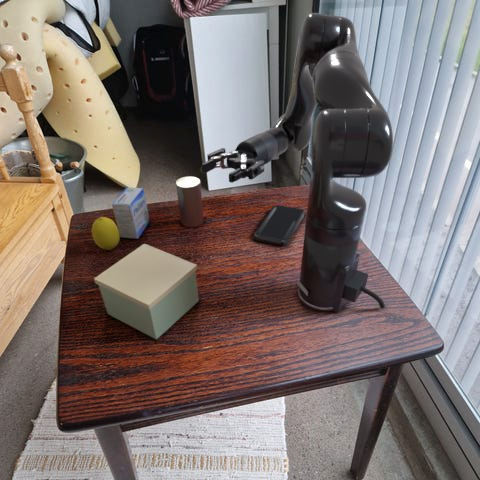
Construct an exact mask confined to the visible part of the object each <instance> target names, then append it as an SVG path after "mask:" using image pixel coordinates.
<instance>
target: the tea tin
mask: <svg viewBox="0 0 480 480" xmlns="http://www.w3.org/2000/svg"><path fill="white" fill-rule="evenodd" d="M175 186H176V195H177V202H178V209H179V218H180V224H181V225H182V226H184V227H186V228H196V227H200V226H201V225H203V223H204V209H203V199H202V186H201V179H200V178H198V177H197V176H183V177H180V178H178V179H176V181H175Z"/></svg>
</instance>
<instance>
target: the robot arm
mask: <svg viewBox="0 0 480 480" xmlns="http://www.w3.org/2000/svg"><path fill="white" fill-rule="evenodd" d="M309 67H312V68H313V67H314V69H313V72H312V75H311V72H310V69H309ZM316 108H317V109H318V110H319V111H320V112H319V113H318V114H317V116H316V118H315V122H314V125H313V115H314V114H315V111H316ZM393 133H394V132H393V126H392V123H391V120H390V117H389V114H388V112H387V110H386V109H385V107H384V105H383V104H382V103H381V101H380V100H379V98H378V97H377V96H376V95H375V93H374V90H373V89H372V87H371V84H370V81H369V77H368V74H367V71H366V68H365V65H364V63H363V61H362V59H361V56H360V53H359V50H358V44H357V36H356V30H355V26H354V23H353V22H352V20H350V18H347V17H344V16H339V15H334V14H333V15H332V14H325V13H322V12H321V13H320V12H309V14H307V15H306V16H305V18H304V20H303V22H302V25H301V28H300V31H299V34H298V41H297V46H296V52H295V60H294V65H293V73H292V84H291V91H290V94H289V99H288V102H287V106H286V109H285V113H283V114H282V115H281V116H280V117H279V118H278V119H277V121H276V122H275V123H274V125H273V126H272V127H270V128H269V129H267V130H265V131H263V132H260V133H257V134H254V135H253V136H251V137H249V138H246V139H245V140H243V141H241V142H239V143H238V145H237V146H236V148H235V150H232V151H229V152H228V151H226V148H225V147H221V148H219V149H217V150H215V151H212V152H210V153H208V154H207V157H206V158H207V161H205V162H203V163H202V164H201V172H202V173H204V174H207V173H209V172H211V171H212V170H214V169H216V168H221V169H222V170H226V169H233V171H231V172H229V173H228V182H229V183H232V184H233V183H235V182H238V181H239V180H241V179H246V178H248V180H254V179H255V178H257V177H258V176H260V175H261V174H262V173H264V172H265V165H267V164H268V163H270V162H271V161H272V160H274V159H275V158H277V157H279V156H280V155H282V154H283V153H285V152H286V151H287V149H290V150H292V151H293V152H301V151H303V150H304V149H305V148H306V147H307V146H308V145H309V143H310V141H311V159H310V160H311V163H310V177H309V179H310V180H309V189H308V201H307V207H306V216H305V217H306V219H305V227H304V237H303V246H302V256H301V263H300V273H299V279H296V285H297V286H298V289H297V296H298V297H297V298H298V299H299V301H300V302H301V303H302V304H303V305H304V306H305V307H307V308H309V309H311V310H314V311H318V312H334V313H336V314H337V313H340V311H341V310H342V309H343V307H344V306H345V305H346V304H347V302H348V301H349V302H351V303H355V302H357V300H358V298H359V297H360V295H362V293H364V294H365V295H368V296H370V298H372V299H374V300H375V301H376V302H377V303H378V306H379V308H380V309H385V308H386V305H385V302H384V300H383V299H382V298H381V297H380V296H379V295H378V294H377V293H376V292H373V291H372V290H370V289H368V288H367V287H366V286H367V282H368V278H369V273H367V272H364V271H360V270H358V266H359V263H360V257H361V255H360V253H358V251H359V250H358V249H359V245H360V239H361V234H362V232H363V231H362V230H363V226H364V222H365V217H366V212H367V201H366V199H365V198H364V197H363V195H362V194H360V192H358V191H357V190H354V189H352V188H350V187H347V186H345V185H342V184H341V183H338V182H337V181H335V180H334V179H368V178H372V177H377V176H378V175H380V174H382V173H383V172H384V171H385V170H386V169H387V167H388V165H389V163H390V162H391V158H392V155H393V149H394V134H393ZM311 138H312V140H311ZM225 160H226V164H225Z"/></svg>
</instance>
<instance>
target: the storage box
mask: <svg viewBox="0 0 480 480" xmlns="http://www.w3.org/2000/svg"><path fill="white" fill-rule="evenodd" d="M197 271H198V265H197V263H193V262H191V261H190V260H189V261H188V260H186V259H183V258H181V257H179V256H176V255H174V254H171V253H169V252H167V251H164V250H162V249H159V248H156V247H154V246H151V245H149V244H147V243H143V244H141V245H140V246H139V247H137V248H135V249H134V250H133V251H131V252H129V254H127V255H126V256H123V258H121V259H120V260H118V261H117V262H116V263H114V264H113V265H111V266H110V267H108V268H107V269H105V270H104V271H102V272H101V273H100V274H98V275H97V276H95V277H94V278H93V281H94V284H96V285H98V288H99V291H100V294H101V297H102V301H103V303H104V306H105V310H106V314H107V315H109V316H111V317H112V318H114V319H117V320H118V321H120V322H122V323H124V324H126V325H128V326H129V327H131V328H134V329H135V330H138V332H141V333H143V334H145V335H146V336H149V337H151V338H152V339H154V340H158V339H159V338H160V337H161V336H162V335H163V334H164V333H166V332H167V331H168V330H169V329H170V328H171V327H173V325H174V324H175V323H176V322H178V321H179V320H180V319H181V318H182V317H183V316H184V315H185V314H186V313H187V312H189V311H190V310H191V309H192V308H193V307H194V306H195V305H197V303H199V300H200V299H199V291H198V282H197V273H196V272H197Z"/></svg>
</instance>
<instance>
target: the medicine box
mask: <svg viewBox="0 0 480 480" xmlns="http://www.w3.org/2000/svg"><path fill="white" fill-rule="evenodd" d="M111 206H112V210H113V214H114V218H115V222H116V226H117V228H118V230H119V235H120V238H123V239H134V240H135V239H137V240H139V238H140V237H141V235H142V234H143V232H144V231H145V229H146V228H147V227H148V225H149V224H150V221H151V220H150V214H149V209H148V205H147V199H146V194H145V190H144V188H142V187H133V186H132V187H131V186H130V187H126V188H125V189H124V190H123V191H122V192H121V193H120V194H119V195H118V197H116V199H115V200H114V201H113V202H112V203H111Z"/></svg>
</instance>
